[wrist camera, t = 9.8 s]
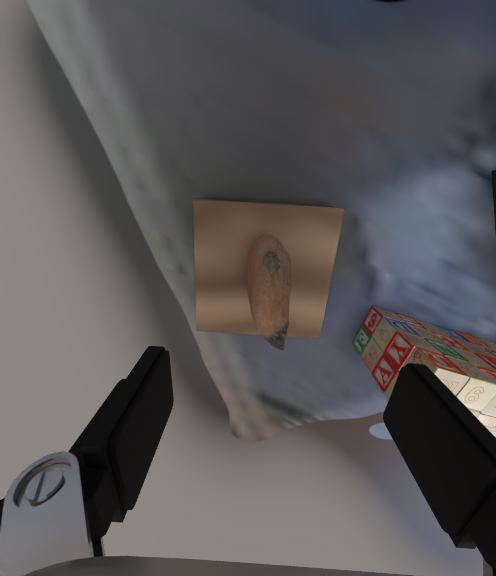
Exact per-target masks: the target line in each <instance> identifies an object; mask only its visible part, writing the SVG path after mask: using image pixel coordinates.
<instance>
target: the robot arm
mask: <svg viewBox="0 0 496 576" xmlns="http://www.w3.org/2000/svg"><path fill="white" fill-rule="evenodd" d="M172 407H173V389H172V377H171V367H170V356H169V351H165V348H164V347H158V346H149V347H148V348H147V349H146V350H145V352H144V353H143V355H142V356H141V358H140V359H139V361H138V362H137V364H136V365H135V367H134V368H133V369H132V371H131V372H130V374H129V375H128V377H127V378H126V379H122V380H120V381H119V382H118V383H117V385H116V386H115V387H114V389H113V390H112V392H111V393H110V394H109V396H108V397H107V399H106V400H105V401H104V403H103V404H102V406H101V407H100V408H99V410H98V411H97V413H96V414H95V415H94V417H93V418H92V420H91V421H90V422H89V424H88V425H87V427H86V428H85V429H84V431H83V432H82V434H81V435H80V436H79V438H78V439H77V441H76V442H75V443H74V445H73V446H72V447H71V449H70V450H69V452H57V453H53V454H50V455H47V456H44V457H43V458H41V459H39V460H37V461H36V462H34V463H32V464H31V465H30V466H29V467H27V468H26V469H25V470H24V471H22V473H21V474H20V475H19V476H18V477H17V478H16V479H15V480H14V481H13V483H12V485H11V486H10V488H9V489H8V491H7V494H6V497H5V498H4V499H2V500H0V576H412V575H400V574H388V573H375V572H361V571H349V570H336V569H335V570H334V569H322V568H308V567H295V566H282V565H268V564H254V563H240V562H224V561H211V560H196V559H179V558H158V557H135V556H110V557H108V556H107V557H106V556H105V550H104V544H103V538H102V537H103V536H104V535H105V534H106V533H107V531H108V528H109V526H110V524H111V522H123V520H124V518H125V515H126V513H127V510H132V509H133V507H134V506H135V504H136V501H137V499H138V496H139V493H140V491H141V488H142V486H143V483H144V480H145V478H146V475H147V473H148V470H149V467H150V465H151V462H152V460H153V457H154V455H155V452H156V449H157V447H158V444H159V441H160V439H161V436H162V434H163V431H164V428H165V426H166V423H167V421H168V418H169V415H170V413H171V410H172ZM383 419H384V423H385V425H386V427H387V429H388V431H389V433H390V435H391V436H392V438H393V440H394V442H395V444H396V445H397V447H398V449H399V451H400V453H401V455H402V456H403V458H404V460H405V462H406V464H407V466H408V468H409V469H410V471H411V473H412V475H413V477H414V479H415V480H416V482H417V484H418V486H419V488H420V490H421V491H422V493H423V495H424V497H425V499H426V501H427V502H428V504H429V506H430V508H431V510H432V512H433V513H434V515H435V517H436V519H437V521H438V523H439V524H440V526H441V528H442V529H443V530H444V531H445V532H446V533H448V534H449V536H450V538H451V539H452V541H453V543H454V545H455V546H456V547H457V548H458V547H459V548H471V549H475V547H476V546H477V548H478V549H479V551H480V553H481V554H482V556H483V576H496V437H495V436H494V435H493V434H492V433H491V432H490V431H489V430H488V429H487V428H486V427H485V426H484V425H483V424H482V423H481V422H480V421H479V420H478V419H477V417H476V416H475V415H474V414H473V413H472V412H471V411H470V410H469V409H468V408H467V407H466V406H465V405H464V404H463V403H462V402H461V401H460V400H459V399H458V398H457V397H456V396H455V395H454V394H453V393H452V391H451V390H450V389H449V388H448V387H447V386H446V385H445V384H444V383H443V382H442V381H441V380H440V379H439V378H438V377H437V376H436V375H435V374H434V373H433V372H432V371H431V370H430V369H429V368H428V367H427V366H426V365H424V364H414V363H407V364H406V365H405V367H402V368H401V370H400V373H399V375H398V378H397V380H396V383H395V385H394V388H393V391H392V393H391V396H390V398H389V401H388V404H387V406H386V409H385V411H384V414H383Z"/></svg>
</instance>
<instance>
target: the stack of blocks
mask: <svg viewBox="0 0 496 576" xmlns="http://www.w3.org/2000/svg"><path fill="white" fill-rule="evenodd" d="M352 344H353V346H354V347H355V349H356V351H357V352H358V354H359V356H360V357H362V359H363V361H364V362H365V364H366V366H367V367H368V369H369V370H370V372H371V373H372V376H373V378H374V379H375V381H376V382H377V384H378V386H379V387H380V389H381V390H382V392H383V393H384V394H385V395H386V397H387V399H388V400H389V398H390V396H391V393H392V391H393V388H394V385H395V383H396V380H397V378H398V375H399V373H400V370H401V368H402V367H405V365H406V364H407V363H414V364H424V365H426V366H427V367H428V368H429V369H430V370H431V371H432V372H433V373H434V374H435V375H436V376H437V377H438V378H439V379H440V380H441V381H442V382H443V383H444V384H445V385H446V386H447V387H448V388H449V389H450V390H451V391H452V393H453V394H454V395H455V396H456V397H457V398H458V399H459V400H460V401H461V402H462V403H463V404H464V405H465V406H466V407H467V408H468V409H469V410H470V411H471V412H472V413H473V414H474V415H475V416H476V417H477V419H478V420H479V421H480V422H481V423H482V424H483V425H484V426H485V427H486V428H487V429H488V430H489V431H490V432H491V433H492V434H493V435H494V436H495V437H496V344H495V343H494V342H491V341H487V340H484V339H481V338H477V337H474V336H471V335H468V334H464V333H461V332H458V331H452V330H449V329H446V328H443V327H439V326H436V325H432V324H429V323H426V322H422V321H419V320H415V319H413V318H411V317H408V316H404V315H401V314H398V313H394V312H392V311H388V310H385V309H382V308H379V307H375V306H372V307H371V309H370V311H369V313H368V314H367V316H366V318H365V320H364V322H363V324H362V326H361V328H360V330H359V332H358V333H357V335H356V337H355V339H354V341H353V342H352Z"/></svg>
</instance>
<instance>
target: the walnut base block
mask: <svg viewBox="0 0 496 576" xmlns="http://www.w3.org/2000/svg"><path fill="white" fill-rule="evenodd" d="M344 210H345V208H337V207H330V206H314V205H297V204H281V203H264V202H247V201H230V200H214V199H193V219H194V256H195V293H196V330H197V331H206V332H223V333H239V334H255V335H262V334H261V333H260V332H259V330H258V329H257V327H256V325H255V323H254V321H253V318H252V314H251V309H250V304H249V298H248V292H247V256H248V253H249V252H250V250H251V248H252V246H253V245H254V243H255V242H256V241H257V240H258V239H259V238H261V237H263V236H265V235H274V236H275V237H276V238H277V239H278V240H279V241H280V242H281V243H282V245H283V246H284V248H285V250H286V251H287V253H288V254H289V256H290V260H291V275H292V276H291V283H292V285H291V292H290V304H289V326H288V330H287V334H286V336H288V337H304V338H320V334H321V329H322V324H323V319H324V314H325V308H326V303H327V298H328V293H329V288H330V283H331V277H332V272H333V267H334V262H335V257H336V252H337V246H338V241H339V236H340V231H341V226H342V220H343V215H344Z"/></svg>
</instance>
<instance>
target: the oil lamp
mask: <svg viewBox="0 0 496 576" xmlns="http://www.w3.org/2000/svg"><path fill="white" fill-rule="evenodd" d="M291 276H292V275H291V260H290V256H289V254H288V253H287V251H286V250H285V248H284V246H283V245H282V243H281V242H280V241H279V240H278V239H277V238H276V237H275V236H274V235H265V236H263V237H261V238H259V239H258V240H257V241H256V242H255V243H254V245H253V246H252V248H251V250H250V252H249V253H248V256H247V292H248V298H249V304H250V309H251V314H252V318H253V321H254V323H255V325H256V327H257V329H258V330H259V332H260V333H261V334H262V335H263V336H264V338H265V339H266V340H267V341H268V342H269V343H270V344H272V345H273V346H274V347H275V348H278V349H279V350H283V349H284V342H285V339H286V334H287V330H288V326H289V304H290V292H291V285H292V283H291Z"/></svg>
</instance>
